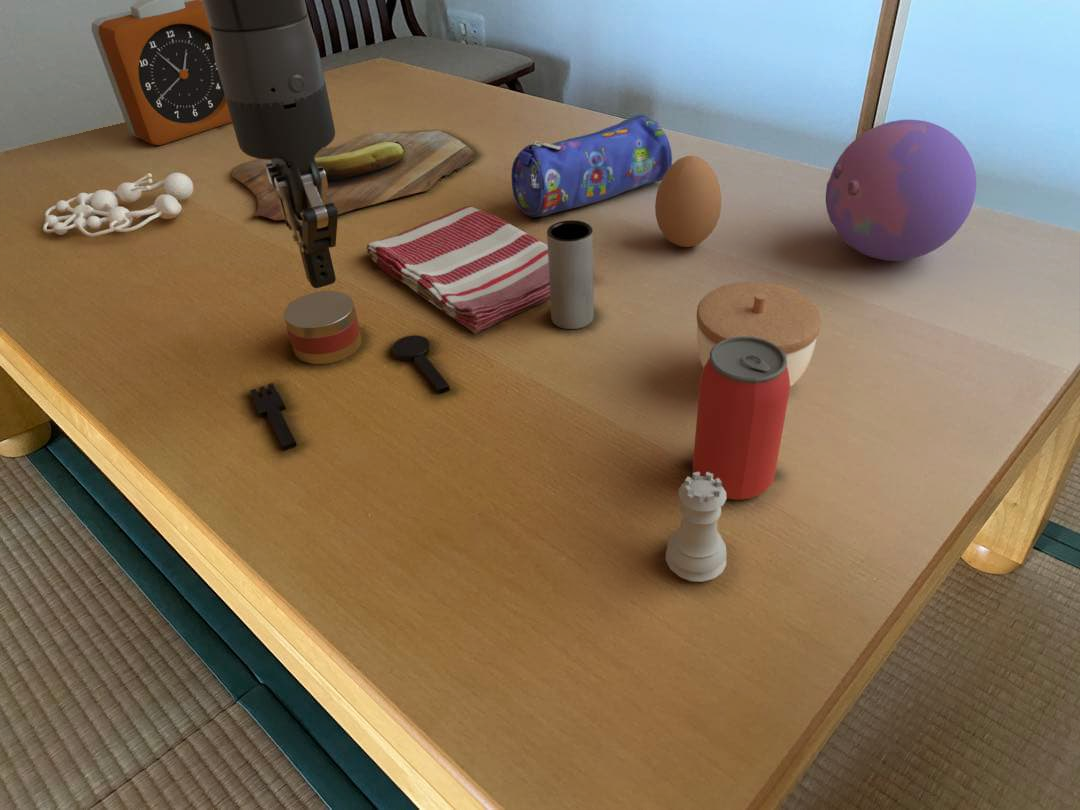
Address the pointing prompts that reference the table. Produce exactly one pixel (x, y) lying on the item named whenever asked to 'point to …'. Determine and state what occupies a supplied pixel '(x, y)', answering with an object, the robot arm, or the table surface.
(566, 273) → the grey hollow cylinder
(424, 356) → the spoon
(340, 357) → the tin can
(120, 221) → the tangled rod sculpture
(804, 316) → the trinket box
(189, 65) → the alarm clock
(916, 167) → the decorative ball
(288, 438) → the fork
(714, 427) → the beer can
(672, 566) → the rook chess piece
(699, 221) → the egg
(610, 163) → the pencil case
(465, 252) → the dish towel
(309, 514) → the table surface
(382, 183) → the cutting board
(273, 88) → the robot arm
